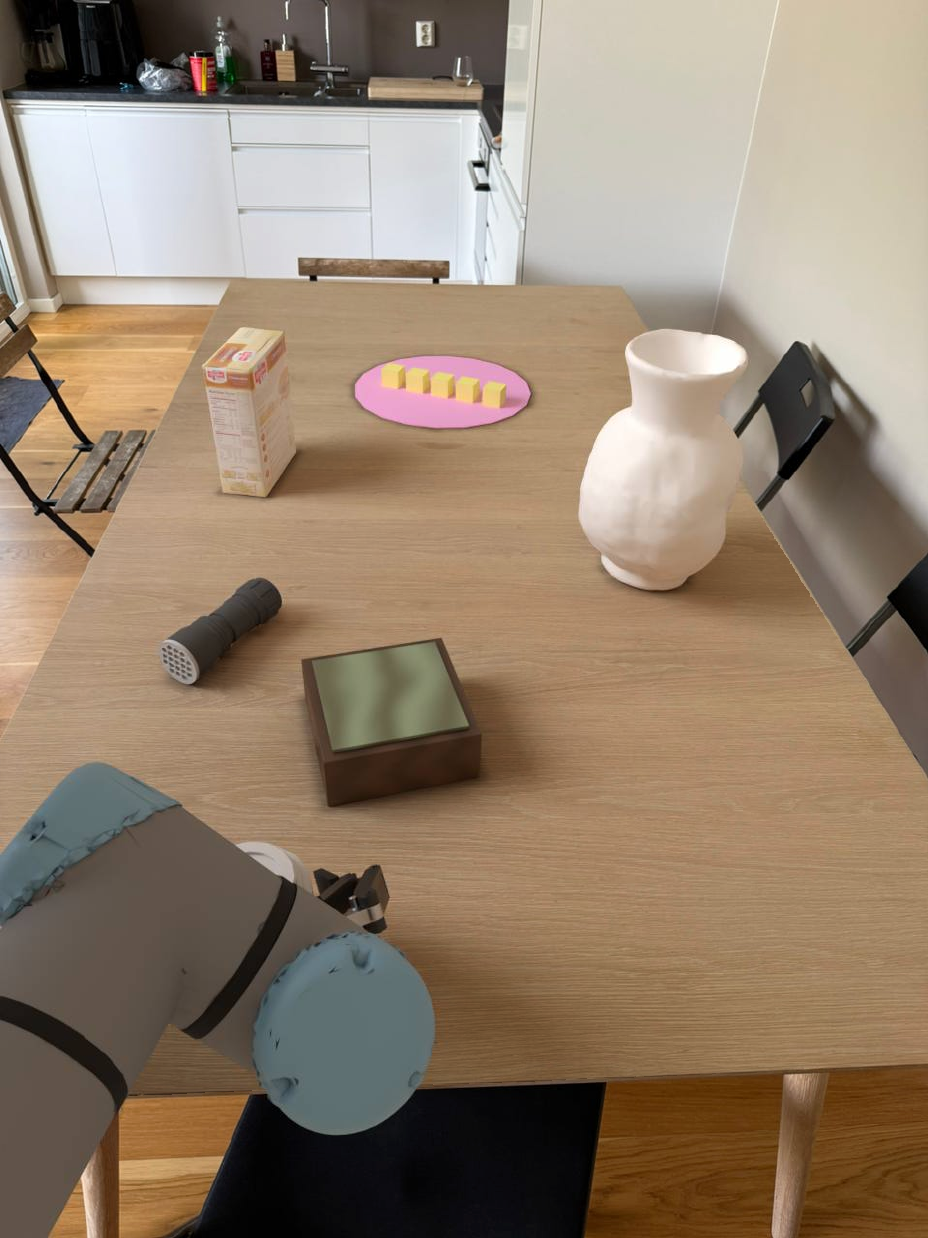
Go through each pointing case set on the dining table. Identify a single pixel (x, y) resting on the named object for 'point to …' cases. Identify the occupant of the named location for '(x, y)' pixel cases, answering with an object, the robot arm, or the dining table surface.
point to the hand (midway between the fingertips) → (248, 914)
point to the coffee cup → (279, 862)
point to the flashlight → (218, 630)
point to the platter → (442, 392)
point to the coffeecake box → (251, 410)
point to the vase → (665, 461)
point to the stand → (389, 721)
